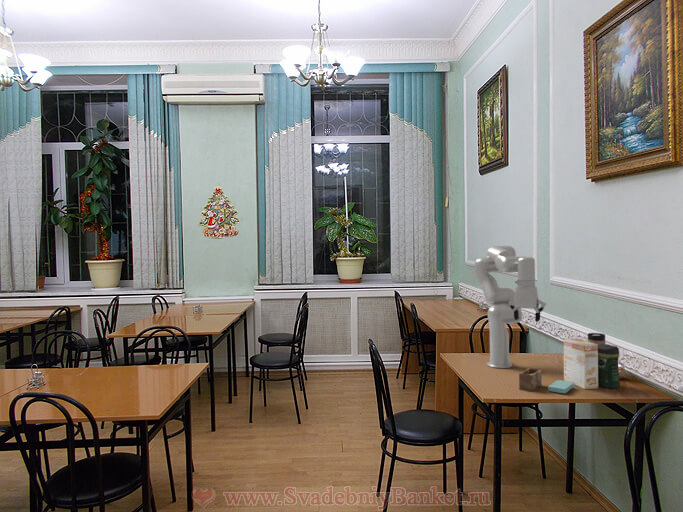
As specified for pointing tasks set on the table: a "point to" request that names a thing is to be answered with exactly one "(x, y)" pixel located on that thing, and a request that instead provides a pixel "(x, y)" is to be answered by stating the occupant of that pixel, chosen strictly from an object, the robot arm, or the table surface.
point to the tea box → (530, 379)
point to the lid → (561, 386)
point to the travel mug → (596, 338)
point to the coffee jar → (608, 366)
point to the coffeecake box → (581, 363)
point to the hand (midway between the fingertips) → (526, 320)
